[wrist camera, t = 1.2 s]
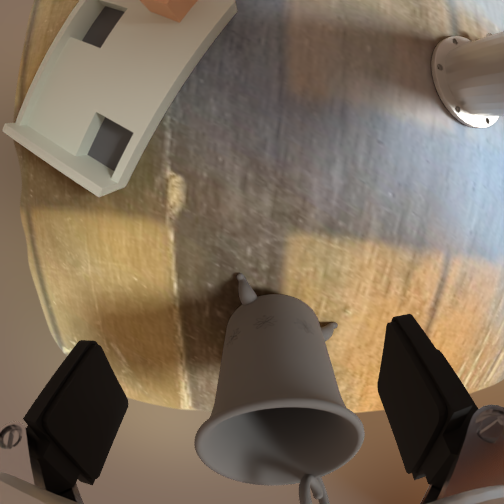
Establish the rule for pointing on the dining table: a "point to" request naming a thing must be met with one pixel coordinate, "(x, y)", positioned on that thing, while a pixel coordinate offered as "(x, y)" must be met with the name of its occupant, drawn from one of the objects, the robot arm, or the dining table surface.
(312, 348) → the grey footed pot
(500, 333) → the dining table surface
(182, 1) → the block
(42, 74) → the tray
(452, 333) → the dining table surface
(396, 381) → the robot arm
